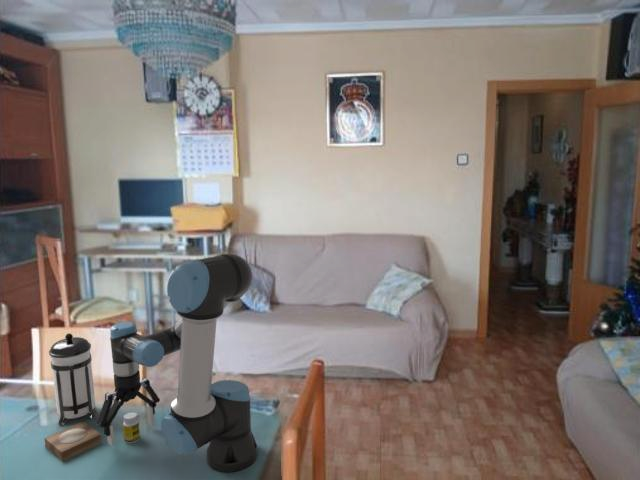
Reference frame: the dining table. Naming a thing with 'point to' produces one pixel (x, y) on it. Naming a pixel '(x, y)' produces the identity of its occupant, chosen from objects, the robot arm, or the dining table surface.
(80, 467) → the dining table surface
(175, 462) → the dining table surface
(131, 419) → the supplement bottle
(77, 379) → the coffee press
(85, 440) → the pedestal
